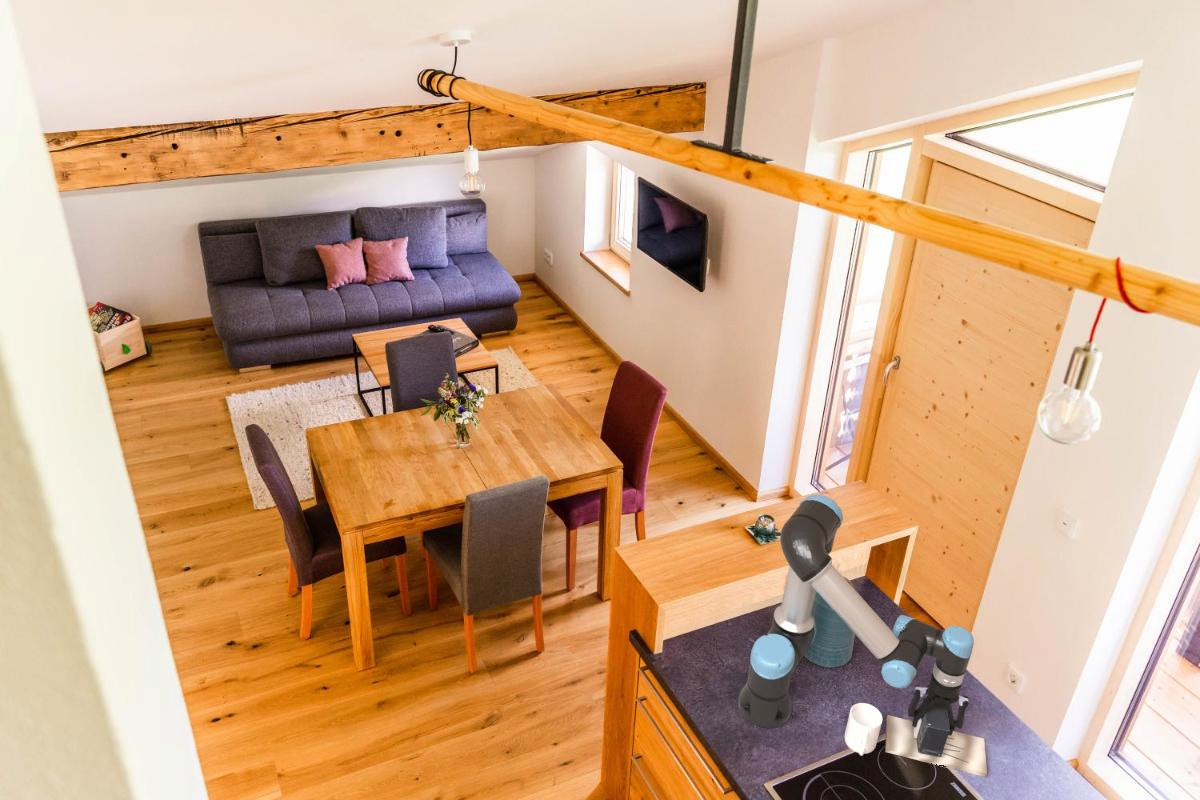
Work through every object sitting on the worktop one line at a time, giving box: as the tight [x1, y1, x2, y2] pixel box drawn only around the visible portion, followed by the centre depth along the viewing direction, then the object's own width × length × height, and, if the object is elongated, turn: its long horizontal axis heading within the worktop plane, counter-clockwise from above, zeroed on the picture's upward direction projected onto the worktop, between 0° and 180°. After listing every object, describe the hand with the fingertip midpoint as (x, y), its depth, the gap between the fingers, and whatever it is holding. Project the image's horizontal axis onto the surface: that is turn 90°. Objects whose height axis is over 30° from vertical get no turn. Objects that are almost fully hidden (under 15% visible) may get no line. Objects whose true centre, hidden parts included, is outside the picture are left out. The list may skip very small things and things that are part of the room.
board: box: [884, 714, 988, 778], centre depth 245 cm, size 26×12×2 cm, turn 73°
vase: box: [803, 576, 858, 668], centre depth 270 cm, size 16×16×27 cm
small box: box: [917, 697, 950, 757], centre depth 242 cm, size 11×6×10 cm, turn 168°
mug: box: [844, 702, 883, 757], centre depth 242 cm, size 9×12×11 cm
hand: (928, 737), depth 245 cm, fingers closed on small box, 7 cm apart
